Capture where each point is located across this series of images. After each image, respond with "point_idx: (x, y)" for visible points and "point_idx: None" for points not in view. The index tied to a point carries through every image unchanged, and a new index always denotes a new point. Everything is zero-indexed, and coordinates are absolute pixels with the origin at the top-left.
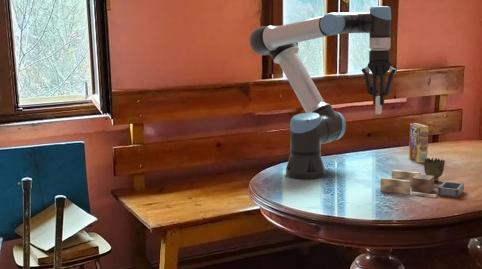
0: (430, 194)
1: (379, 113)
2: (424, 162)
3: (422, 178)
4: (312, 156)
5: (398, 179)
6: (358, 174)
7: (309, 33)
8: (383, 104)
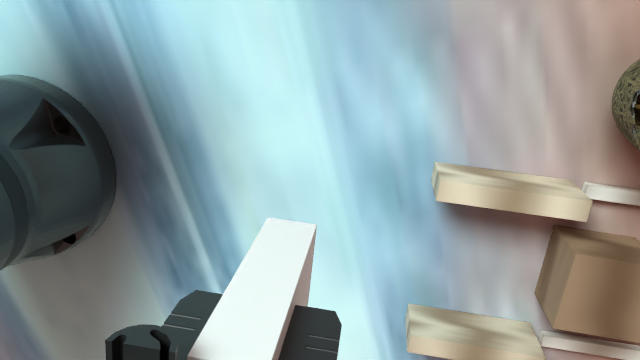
0: (620, 354)
1: (307, 297)
2: (633, 139)
3: (604, 329)
4: (19, 254)
5: (489, 352)
6: (247, 81)
7: None
8: (334, 327)
